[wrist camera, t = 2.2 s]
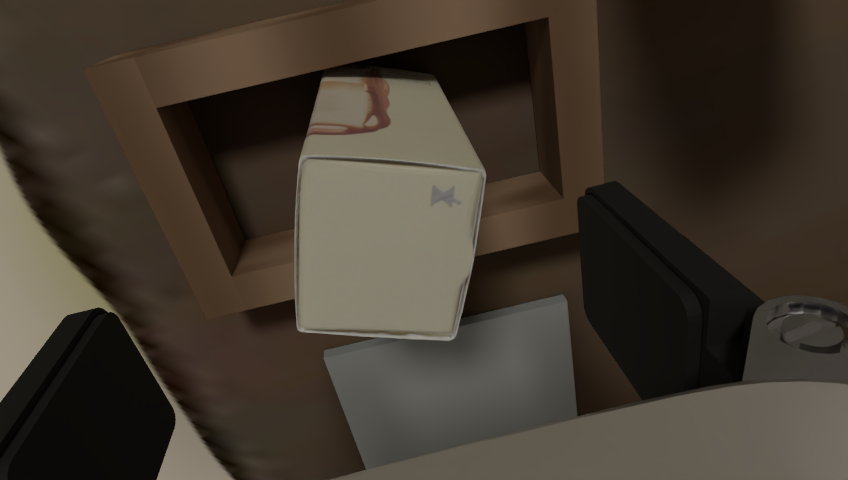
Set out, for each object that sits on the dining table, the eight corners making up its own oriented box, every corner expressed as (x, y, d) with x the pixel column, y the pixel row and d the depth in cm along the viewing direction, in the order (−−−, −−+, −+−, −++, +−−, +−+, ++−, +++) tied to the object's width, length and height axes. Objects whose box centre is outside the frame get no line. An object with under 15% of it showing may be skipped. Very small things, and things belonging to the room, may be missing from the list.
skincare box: (321, 58, 20) (296, 140, 11) (437, 72, 21) (498, 159, 12) (315, 188, 22) (290, 339, 14) (419, 196, 23) (460, 345, 14)
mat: (563, 294, 26) (567, 301, 26) (577, 456, 32) (581, 465, 32) (324, 350, 26) (323, 358, 26) (381, 503, 32) (382, 512, 32)
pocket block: (561, -49, 19) (594, -50, 17) (578, 196, 24) (605, 225, 21) (119, 53, 19) (82, 69, 17) (223, 279, 24) (206, 319, 21)
